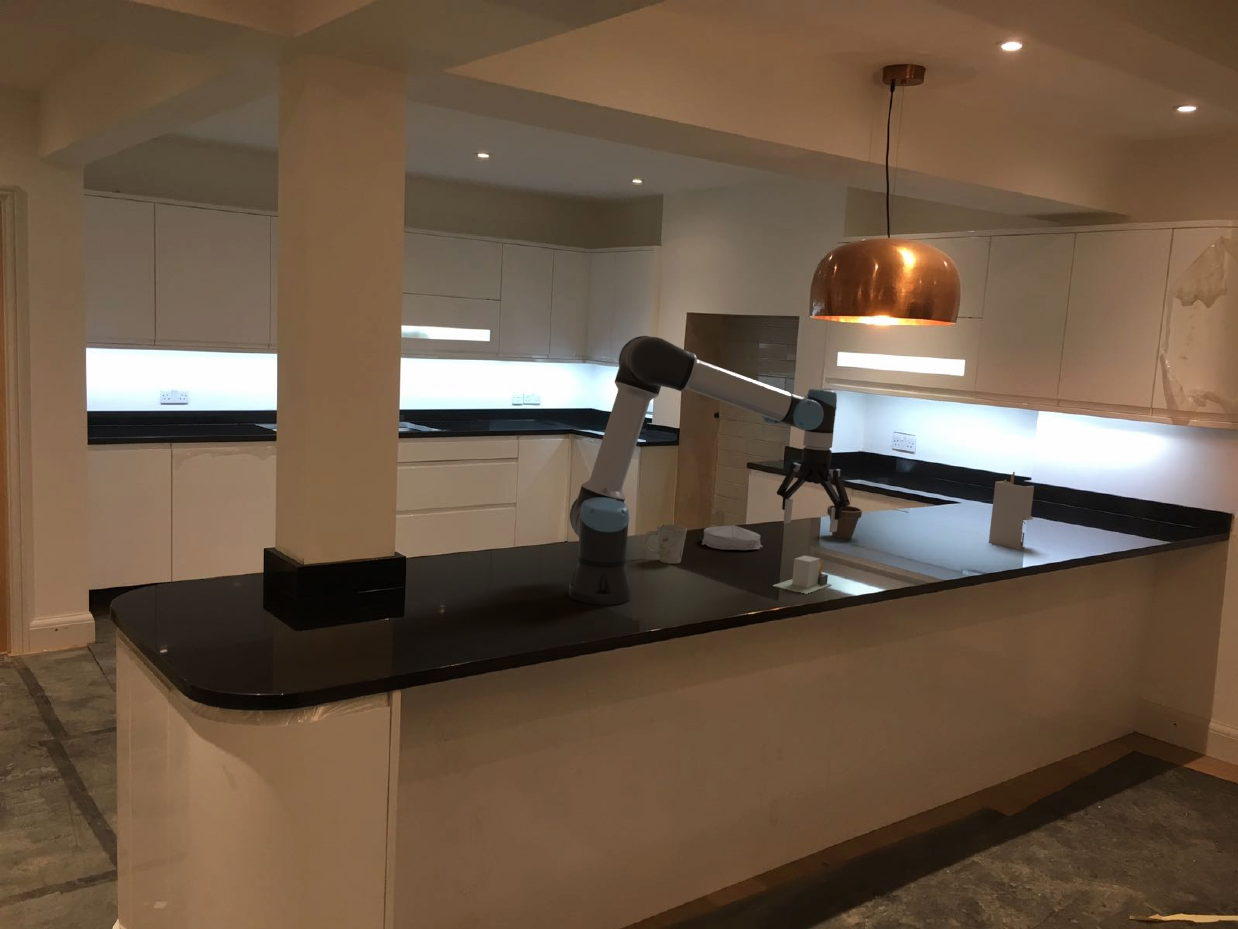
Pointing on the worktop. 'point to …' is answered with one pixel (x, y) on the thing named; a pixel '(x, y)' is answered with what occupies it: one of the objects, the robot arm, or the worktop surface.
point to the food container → (731, 538)
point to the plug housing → (806, 571)
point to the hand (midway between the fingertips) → (809, 527)
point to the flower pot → (846, 521)
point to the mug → (668, 542)
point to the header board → (796, 588)
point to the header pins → (820, 571)
